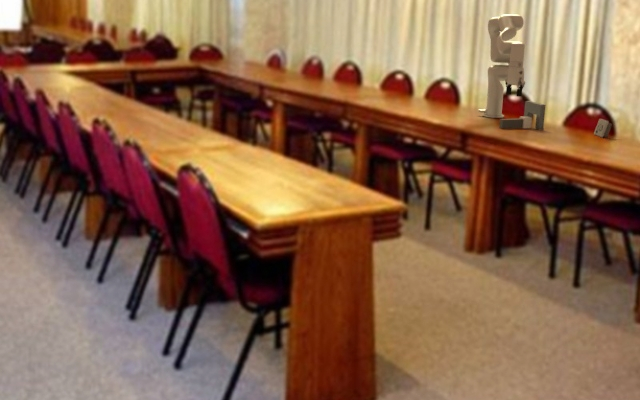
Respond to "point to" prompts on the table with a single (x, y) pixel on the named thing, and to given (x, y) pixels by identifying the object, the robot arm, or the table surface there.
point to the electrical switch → (602, 128)
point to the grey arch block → (535, 112)
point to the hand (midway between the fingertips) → (513, 95)
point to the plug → (516, 123)
